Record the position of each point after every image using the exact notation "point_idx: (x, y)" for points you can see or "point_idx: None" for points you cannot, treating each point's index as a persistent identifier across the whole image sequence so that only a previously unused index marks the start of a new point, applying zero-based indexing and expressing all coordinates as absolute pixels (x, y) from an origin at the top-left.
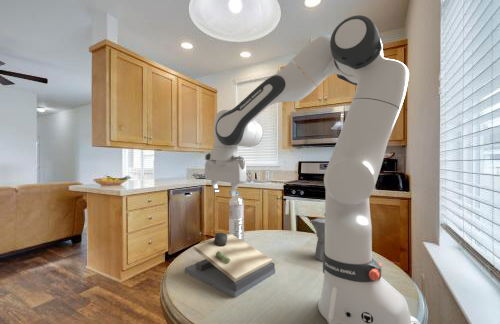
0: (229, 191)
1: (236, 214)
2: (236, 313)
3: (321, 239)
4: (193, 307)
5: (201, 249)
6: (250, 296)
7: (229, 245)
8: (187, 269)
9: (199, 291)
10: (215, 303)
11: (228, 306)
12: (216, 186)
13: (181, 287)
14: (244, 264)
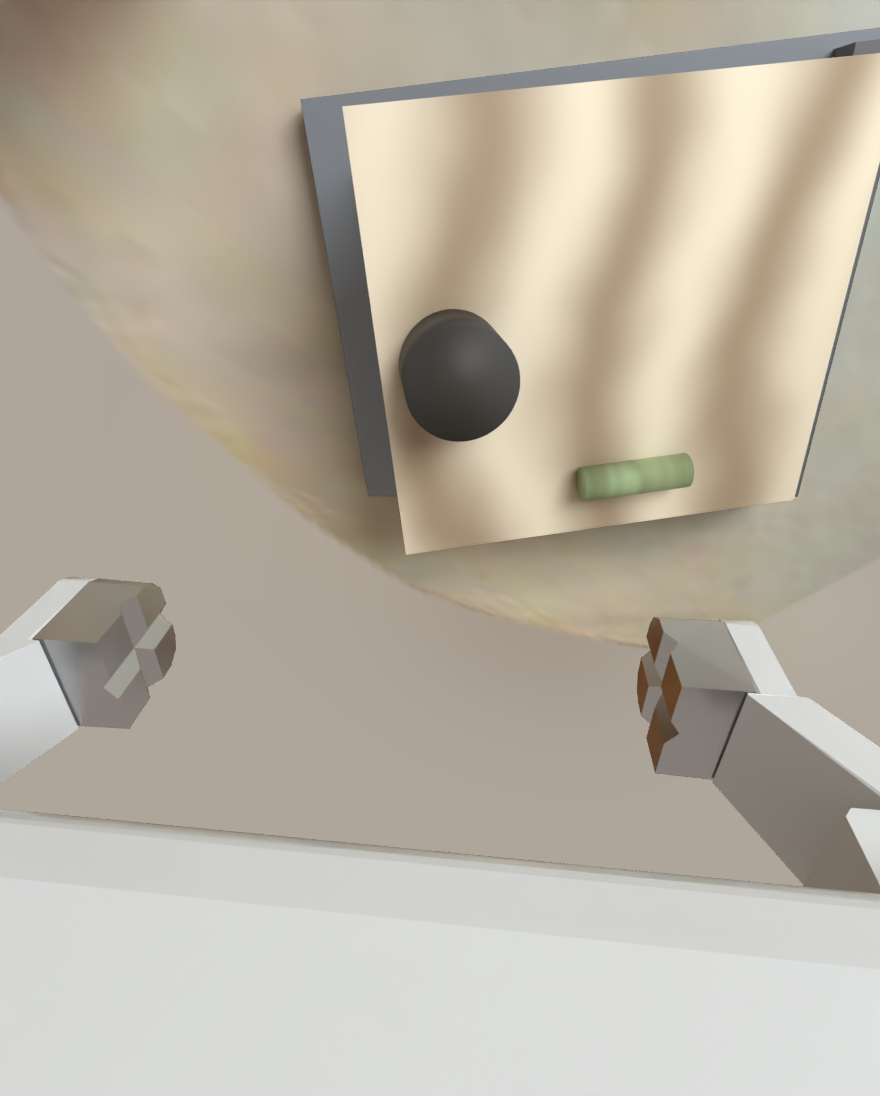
0: (669, 763)
1: None
2: (846, 542)
3: None
4: (663, 611)
5: (463, 532)
6: (841, 418)
7: (516, 302)
8: (392, 494)
9: (591, 540)
10: (720, 551)
11: (785, 533)
12: (8, 693)
13: (500, 568)
14: (761, 366)
